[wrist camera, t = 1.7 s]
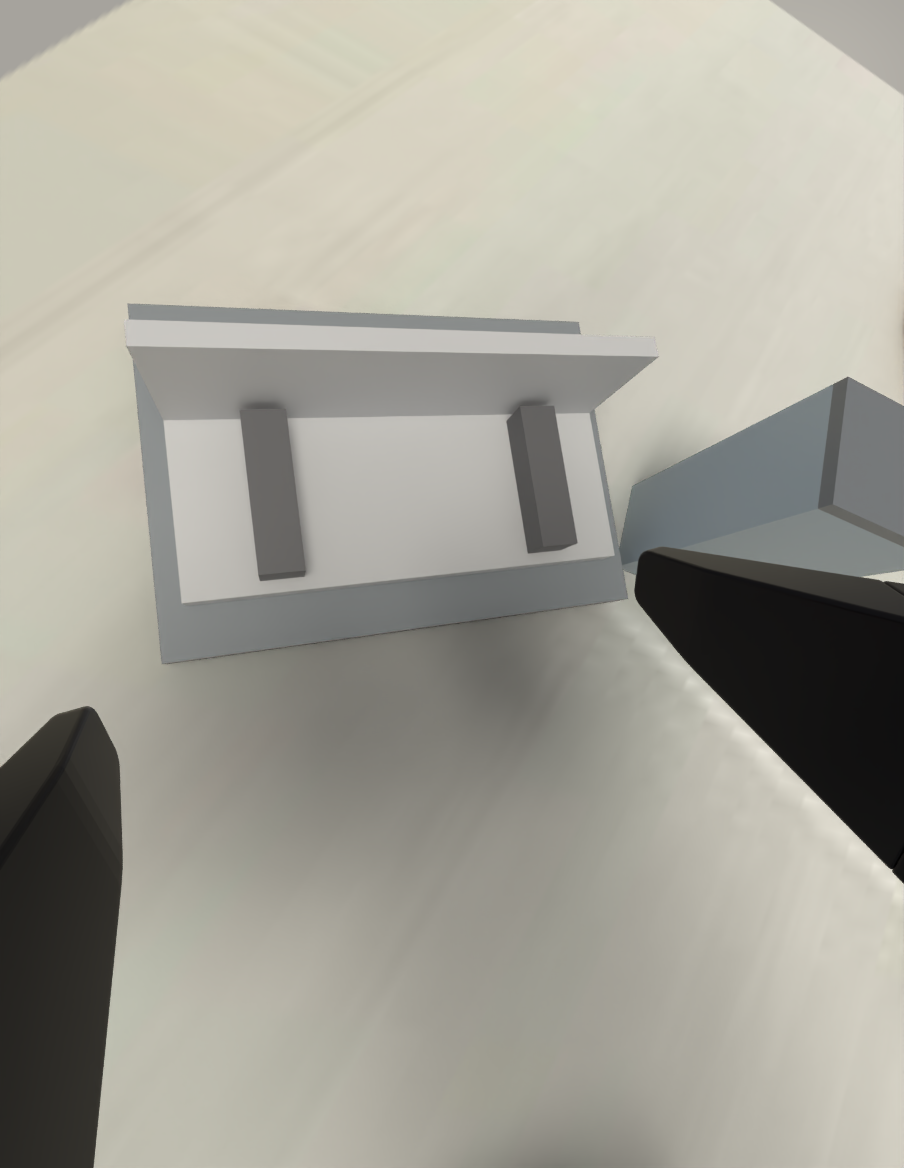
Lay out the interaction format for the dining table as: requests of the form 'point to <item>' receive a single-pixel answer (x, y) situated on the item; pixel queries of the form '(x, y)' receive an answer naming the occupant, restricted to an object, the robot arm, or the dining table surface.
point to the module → (787, 490)
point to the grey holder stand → (369, 471)
